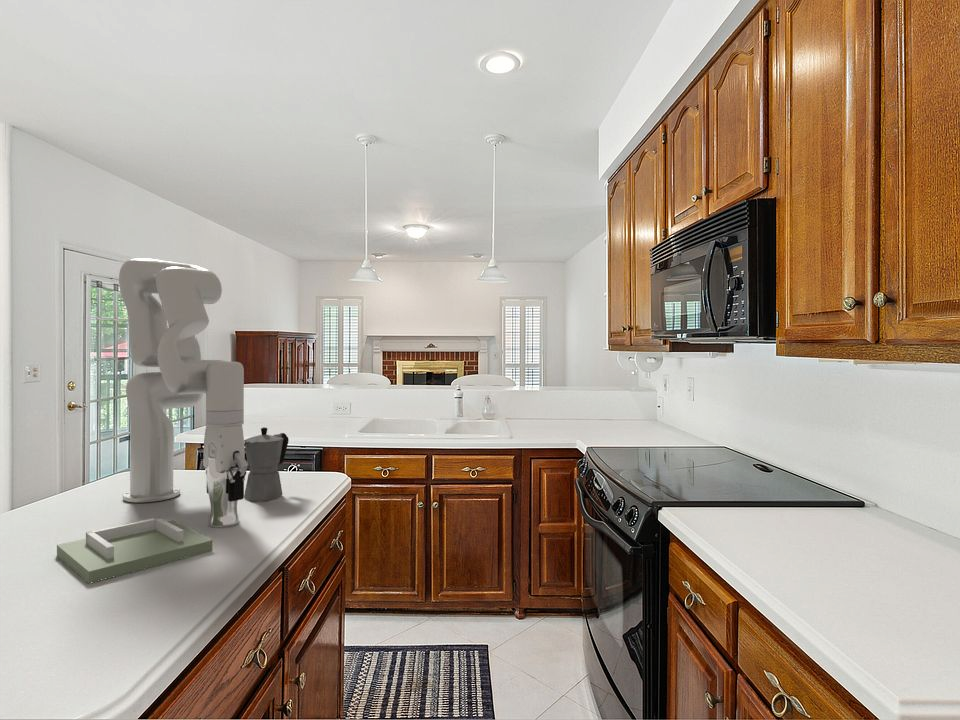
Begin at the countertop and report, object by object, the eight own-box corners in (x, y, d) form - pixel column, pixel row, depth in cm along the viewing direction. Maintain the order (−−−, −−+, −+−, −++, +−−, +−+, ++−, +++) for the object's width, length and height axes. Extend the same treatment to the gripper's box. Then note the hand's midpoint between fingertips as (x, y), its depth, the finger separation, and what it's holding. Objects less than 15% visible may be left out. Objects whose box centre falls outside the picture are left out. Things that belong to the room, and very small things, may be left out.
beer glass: (227, 530, 118) (228, 459, 118) (198, 527, 119) (199, 457, 119) (247, 520, 125) (248, 453, 125) (220, 517, 126) (220, 451, 126)
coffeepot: (259, 505, 136) (259, 432, 136) (229, 501, 140) (230, 429, 139) (301, 491, 150) (301, 424, 150) (273, 487, 154) (273, 422, 153)
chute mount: (56, 555, 102) (56, 534, 102) (172, 529, 118) (172, 510, 118) (88, 583, 91) (88, 559, 91) (212, 550, 106) (212, 529, 106)
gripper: (189, 416, 124) (189, 493, 124) (227, 423, 113) (227, 507, 113) (223, 413, 130) (223, 486, 130) (261, 419, 119) (261, 499, 119)
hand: (224, 496), depth 122 cm, fingers open, 9 cm apart
